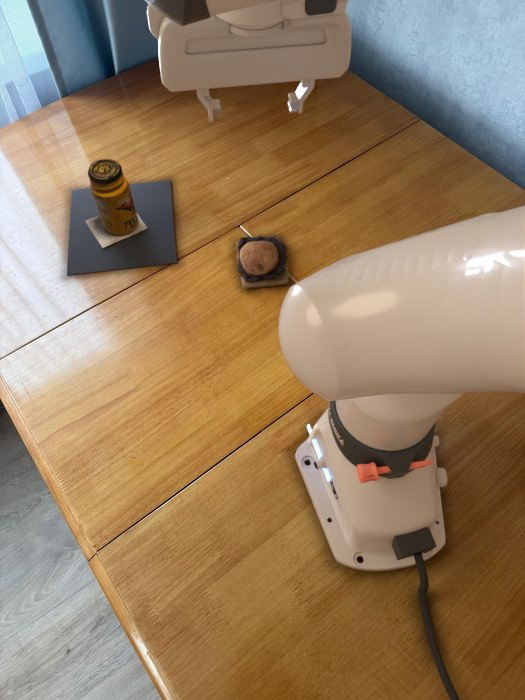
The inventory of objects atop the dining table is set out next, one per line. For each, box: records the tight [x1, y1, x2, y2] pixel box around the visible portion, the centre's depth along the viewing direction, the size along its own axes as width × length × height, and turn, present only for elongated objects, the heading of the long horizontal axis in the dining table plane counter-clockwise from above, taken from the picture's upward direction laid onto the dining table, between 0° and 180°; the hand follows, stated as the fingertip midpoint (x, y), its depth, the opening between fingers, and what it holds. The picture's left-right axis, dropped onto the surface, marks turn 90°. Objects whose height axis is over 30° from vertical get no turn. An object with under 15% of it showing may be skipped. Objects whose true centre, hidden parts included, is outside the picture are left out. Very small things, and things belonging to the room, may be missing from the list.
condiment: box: [85, 158, 148, 248], centre depth 87 cm, size 7×8×12 cm
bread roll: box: [235, 234, 290, 290], centre depth 86 cm, size 11×8×4 cm
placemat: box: [66, 179, 178, 276], centre depth 92 cm, size 20×18×1 cm
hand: (255, 114), depth 62 cm, fingers open, 8 cm apart
